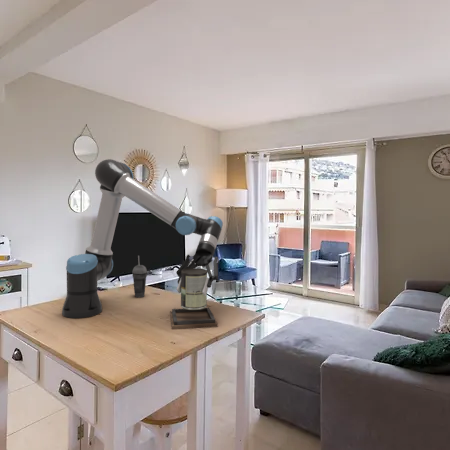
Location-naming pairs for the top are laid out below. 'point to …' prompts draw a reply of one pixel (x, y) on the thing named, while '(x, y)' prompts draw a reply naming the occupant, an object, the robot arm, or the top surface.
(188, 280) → the coffee can
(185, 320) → the walnut board
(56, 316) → the top surface
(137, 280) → the beverage cup
